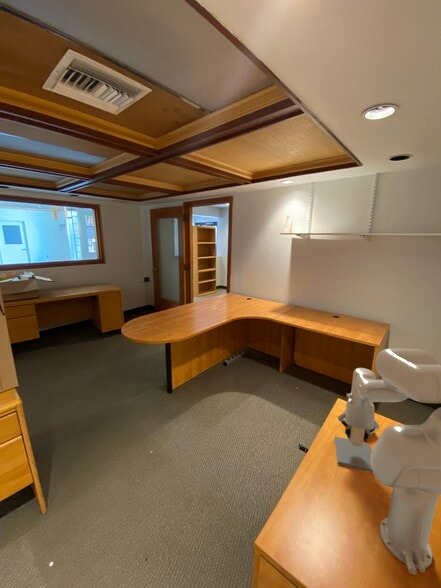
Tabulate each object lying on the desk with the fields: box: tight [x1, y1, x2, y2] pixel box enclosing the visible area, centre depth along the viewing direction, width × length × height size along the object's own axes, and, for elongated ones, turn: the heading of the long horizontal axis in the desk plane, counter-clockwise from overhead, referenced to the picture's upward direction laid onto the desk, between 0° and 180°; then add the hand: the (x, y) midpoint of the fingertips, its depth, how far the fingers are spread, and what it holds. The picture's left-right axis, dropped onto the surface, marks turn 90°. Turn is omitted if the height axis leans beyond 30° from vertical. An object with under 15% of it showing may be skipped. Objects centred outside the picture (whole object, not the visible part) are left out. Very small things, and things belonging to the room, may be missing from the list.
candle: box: [347, 426, 365, 446], centre depth 103 cm, size 6×6×10 cm
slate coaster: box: [334, 435, 374, 474], centre depth 105 cm, size 14×14×1 cm
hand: (356, 437), depth 103 cm, fingers closed on candle, 5 cm apart
